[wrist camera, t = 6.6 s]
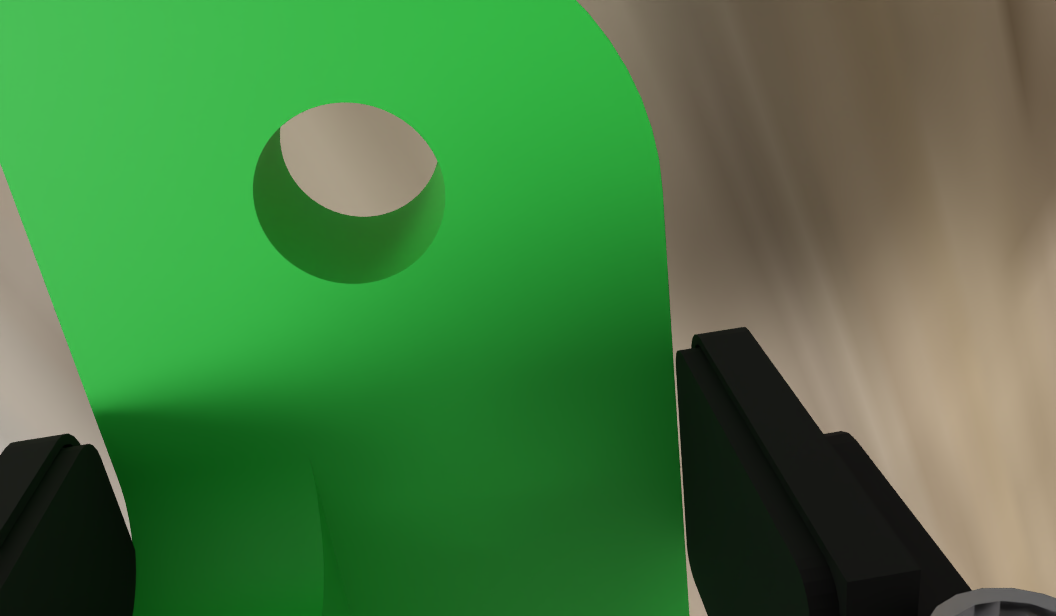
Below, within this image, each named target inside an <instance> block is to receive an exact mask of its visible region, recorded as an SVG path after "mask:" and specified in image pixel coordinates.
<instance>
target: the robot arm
mask: <svg viewBox="0 0 1056 616" xmlns="http://www.w3.org/2000/svg"><path fill="white" fill-rule="evenodd" d="M676 375H677V391H678V407H679V424H680V440H681V456H682V472H683V489H684V505H685V521H686V537H687V550H688V557H689V562H690V567H691V571H692V575H693V578H694V581H695V584H696V586H697V589H698V591H699V594H700V597H701V599H702V602H703V604H704V607H705V609H706V612H707V615H708V616H1056V598H1053V597H1051V596H1048V595H1045V594H1041V593H1036V592H1031V591H1025V590H1020V589H1015V588H981V589H977V590H973V591H972V590H971V589H970V587H969V586H968V585H967V584H966V582H965V581H964V580H963V578H962V577H961V576H960V574H959V573H958V572H957V571H956V569H955V568H954V567H953V565H952V564H951V563H950V561H949V560H948V559H947V558H946V556H945V555H944V554H943V552H942V551H941V550H940V548H939V547H938V546H937V545H936V543H935V542H934V541H933V539H932V538H931V537H930V535H929V534H928V533H927V532H926V530H925V529H924V528H923V526H922V525H921V524H920V522H919V521H918V520H917V519H916V517H915V516H914V515H913V513H912V512H911V511H910V509H909V508H908V507H907V506H906V504H905V503H904V502H903V500H902V499H901V498H900V496H899V495H898V494H897V493H896V491H895V490H894V489H893V487H892V486H891V485H890V483H889V482H888V481H887V480H886V478H885V477H884V476H883V474H882V473H881V472H880V470H879V469H878V468H877V467H876V465H875V464H874V463H873V461H872V460H871V459H870V458H869V456H868V455H867V454H866V452H865V451H864V450H863V448H862V447H861V446H860V445H859V443H858V442H857V441H856V440H855V439H854V438H853V437H852V436H851V435H850V434H849V433H847V432H843V431H840V432H833V433H827V434H823V433H822V431H821V430H820V429H819V427H818V426H817V424H816V423H815V422H814V420H813V419H812V417H811V416H810V415H809V413H808V412H807V411H806V409H805V408H804V406H803V405H802V404H801V402H800V401H799V399H798V398H797V397H796V395H795V394H794V392H793V391H792V390H791V388H790V387H789V386H788V384H787V383H786V381H785V380H784V379H783V377H782V376H781V374H780V373H779V372H778V370H777V369H776V367H775V366H774V365H773V363H772V362H771V361H770V359H769V358H768V356H767V355H766V354H765V352H764V351H763V349H762V348H761V347H760V345H759V344H758V342H757V341H756V340H755V338H754V337H753V336H752V334H751V333H750V331H749V330H748V329H747V328H746V327H741V328H735V329H728V330H722V331H716V332H709V333H703V334H697V335H694V336H693V338H692V345H691V349H685V350H679V351H677V353H676ZM135 590H136V554H135V548H134V545H133V543H132V540H131V537H130V535H129V532H128V529H127V527H126V524H125V521H124V518H123V516H122V513H121V510H120V508H119V505H118V502H117V500H116V497H115V494H114V492H113V489H112V486H111V484H110V481H109V478H108V476H107V473H106V470H105V468H104V465H103V462H102V460H101V457H100V455H99V453H98V451H97V449H96V448H95V447H94V446H93V445H91V444H86V445H80V443H79V442H78V440H77V439H76V438H75V437H74V436H72V435H70V434H63V435H56V436H50V437H44V438H37V439H31V440H25V441H18V442H13V443H10V444H9V445H8V446H7V447H6V448H5V449H4V451H3V452H2V454H1V455H0V616H133V610H134V601H135Z"/></svg>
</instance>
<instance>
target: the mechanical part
mask: <svg viewBox="0 0 1056 616" xmlns="http://www.w3.org/2000/svg"><path fill="white" fill-rule="evenodd" d="M340 102H351V103H360V104H366V105H370V106H374V107H377V108H380V109H383V110H385V111H387V112H390V113H392V114H394V115H395V116H397V117H399V118H400V119H402V120H404V121H405V122H406V123H408V124H409V125H410V126H412V127H413V128H414V129H415V130H416V131H417V132H418V133H419V134H420V135H421V136H422V137H423V139H424V140H425V141H426V142H427V144H428V145H429V147H430V148H431V149H432V151H433V153H434V155H435V157H436V159H437V161H438V162H437V165H436V168H435V171H434V173H433V175H432V177H431V179H430V181H429V182H428V184H427V185H426V187H425V188H424V189H423V190H422V191H421V193H420V194H419V195H418V196H417V197H415V198H414V199H413V200H412V201H411V202H409V203H408V204H406V205H405V206H403V207H401V208H399V209H397V210H395V211H393V212H390V213H386V214H383V215H378V216H371V217H356V216H349V215H344V214H340V213H337V212H334V211H332V210H329V209H327V208H325V207H323V206H321V205H320V204H318V203H317V202H315V201H314V200H312V199H311V198H310V197H309V196H307V195H306V194H305V193H304V192H303V191H302V190H301V189H300V188H299V186H298V185H297V184H296V183H295V181H294V180H293V178H292V177H291V175H290V173H289V171H288V169H287V167H286V165H285V162H284V159H283V156H282V152H281V146H280V127H281V126H282V125H283V124H284V123H286V122H287V121H288V120H290V119H291V118H293V117H294V116H296V115H298V114H299V113H301V112H303V111H306V110H308V109H310V108H314V107H317V106H320V105H325V104H330V103H340ZM0 164H1V166H2V169H3V172H4V174H5V177H6V180H7V182H8V185H9V188H10V190H11V193H12V196H13V198H14V201H15V204H16V207H17V209H18V212H19V215H20V217H21V220H22V223H23V225H24V228H25V231H26V233H27V236H28V239H29V241H30V244H31V247H32V249H33V252H34V255H35V258H36V260H37V263H38V266H39V268H40V271H41V274H42V276H43V279H44V282H45V284H46V287H47V290H48V292H49V295H50V298H51V300H52V303H53V306H54V309H55V311H56V314H57V317H58V319H59V322H60V325H61V327H62V330H63V333H64V335H65V338H66V341H67V343H68V346H69V349H70V352H71V354H72V357H73V360H74V362H75V365H76V368H77V370H78V373H79V376H80V378H81V381H82V384H83V386H84V389H85V392H86V394H87V397H88V400H89V403H90V405H91V408H92V411H93V413H94V416H95V419H96V421H97V424H98V427H99V429H100V432H101V435H102V437H103V440H104V443H105V445H106V448H107V451H108V454H109V456H110V459H111V462H112V464H113V467H114V470H115V472H116V475H117V478H118V480H119V483H120V486H121V489H122V492H123V496H124V499H125V503H126V507H127V511H128V516H129V522H130V528H131V535H132V543H133V545H134V548H135V554H136V590H135V601H134V610H133V616H689V603H688V587H687V571H686V555H685V539H684V523H683V508H682V492H681V476H680V460H679V444H678V428H677V412H676V396H675V380H674V364H673V348H672V332H671V316H670V300H669V284H668V268H667V252H666V237H665V221H664V205H663V189H662V181H661V172H660V164H659V157H658V153H657V149H656V144H655V140H654V136H653V131H652V128H651V125H650V122H649V119H648V116H647V113H646V110H645V107H644V105H643V102H642V99H641V97H640V95H639V92H638V90H637V88H636V86H635V84H634V82H633V80H632V78H631V76H630V74H629V72H628V69H627V68H626V66H625V64H624V63H623V61H622V60H621V58H620V56H619V55H618V53H617V52H616V50H615V48H614V47H613V45H612V43H611V42H610V40H609V39H608V38H607V36H606V35H605V34H604V33H603V31H602V30H601V29H600V28H599V26H598V25H597V24H596V22H595V21H594V20H593V19H592V17H591V16H590V15H589V13H588V12H587V11H586V10H585V9H584V8H583V7H582V6H581V5H580V4H579V3H578V2H577V1H576V0H0Z"/></svg>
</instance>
